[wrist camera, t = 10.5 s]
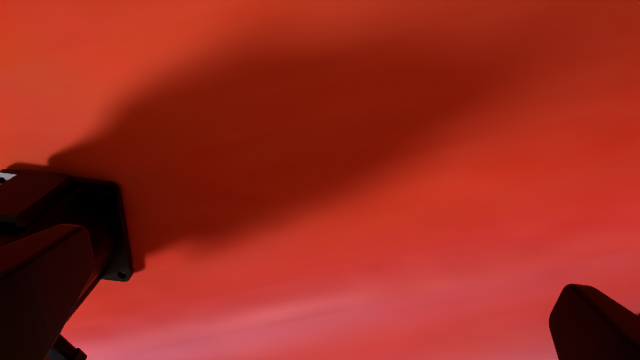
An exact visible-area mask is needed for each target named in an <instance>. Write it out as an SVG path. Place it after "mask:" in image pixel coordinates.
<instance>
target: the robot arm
mask: <svg viewBox="0 0 640 360" xmlns="http://www.w3.org/2000/svg"><path fill="white" fill-rule="evenodd" d="M4 178H5V179H6V180H7V181H6V180H5V179H4ZM107 189H108V190H110V191H111V192H112V194H111V193H109V192H108V191H107ZM122 272H124V273H125V274H124V273H122ZM132 275H133V266H132V259H131V253H130V247H129V240H128V234H127V228H126V221H125V215H124V209H123V202H122V196H121V190H120V188H119V186H118V185H117V184H115V183H114V182H111V181H103V180H94V179H86V178H77V177H74V176H71V175H66V174H58V173H49V172H41V171H32V170H23V171H17V170H8V169H2V170H1V171H0V360H86V358H87V355H86V354H85V353H84V352H83V351H82V350H81V349H79V348H75V347H74V346H73V345H72V344H71V343H70V342H68V341H67V340H66V339H65V338H64V337H63V336H62V335H61V334H60V333H61V331H62V329H63V327H64V325H65V323H66V322H67V321H68V320H69V319H70V317H71V316H72V315H73V314H74V312H75V311H76V310H77V309H78V307H79V306H80V305H81V304H82V302H83V301H84V300H85V299H86V297H87V296H88V295H89V294H90V292H91V291H92V290H93V289H94V287H95V286H96V285H97V284H98V282H99V281H100V280H101V279H105V280H113V281H122V282H126V281H128V280H129V279H130V278H131V276H132ZM549 328H550V332H551V335H552V339H553V342H554V345H555V349H556V352H557V355H558V359H559V360H640V317H639V316H637V315H636V314H634V313H633V312H631V311H630V310H628V309H627V308H625V307H623V306H622V305H620V304H619V303H617V302H616V301H614V300H613V299H611V298H610V297H608V296H607V295H605V294H604V293H602V292H600V291H599V290H597V289H596V288H594V287H592V286H587V285H579V284H568V285H566V286H565V287H564V288H563V290H562V292H561V294H560V296H559V298H558V300H557V302H556V304H555V306H554V308H553V310H552V312H551V314H550V317H549Z"/></svg>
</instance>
